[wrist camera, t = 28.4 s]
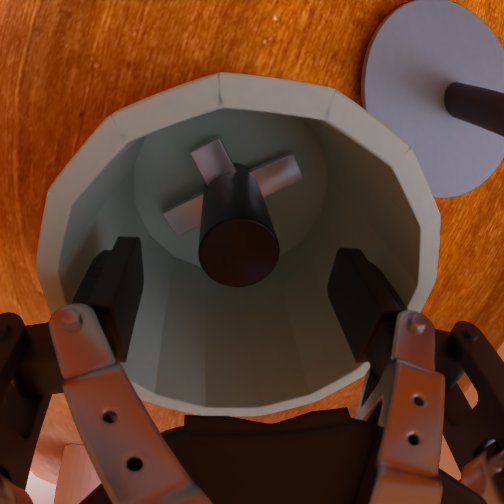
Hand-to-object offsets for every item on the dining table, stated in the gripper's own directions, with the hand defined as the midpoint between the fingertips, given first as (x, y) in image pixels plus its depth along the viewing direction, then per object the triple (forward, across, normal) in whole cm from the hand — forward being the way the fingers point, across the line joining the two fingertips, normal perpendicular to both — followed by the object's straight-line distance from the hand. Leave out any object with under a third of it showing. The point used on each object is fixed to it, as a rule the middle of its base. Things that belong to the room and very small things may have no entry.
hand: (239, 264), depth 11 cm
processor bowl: (+8, 0, 0) cm, 8 cm away
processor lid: (+7, -13, -8) cm, 17 cm away
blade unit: (+8, 0, 0) cm, 8 cm away
